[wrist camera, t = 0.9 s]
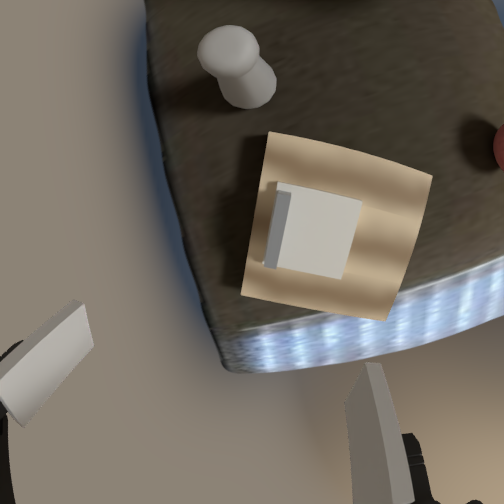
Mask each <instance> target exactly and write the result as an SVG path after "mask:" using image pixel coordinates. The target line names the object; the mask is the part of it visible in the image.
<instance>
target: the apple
mask: <svg viewBox="0 0 504 504" xmlns="http://www.w3.org/2000/svg"><path fill="white" fill-rule="evenodd" d="M493 151H494V155H495V158H496V161H497V163H498V165H499V166H500V168H501V169H502V170H503V171H504V124H503V125H502V126H501V127H500V128H499V129H498V131H497V133H496V135H495V138H494V142H493Z"/></svg>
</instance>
